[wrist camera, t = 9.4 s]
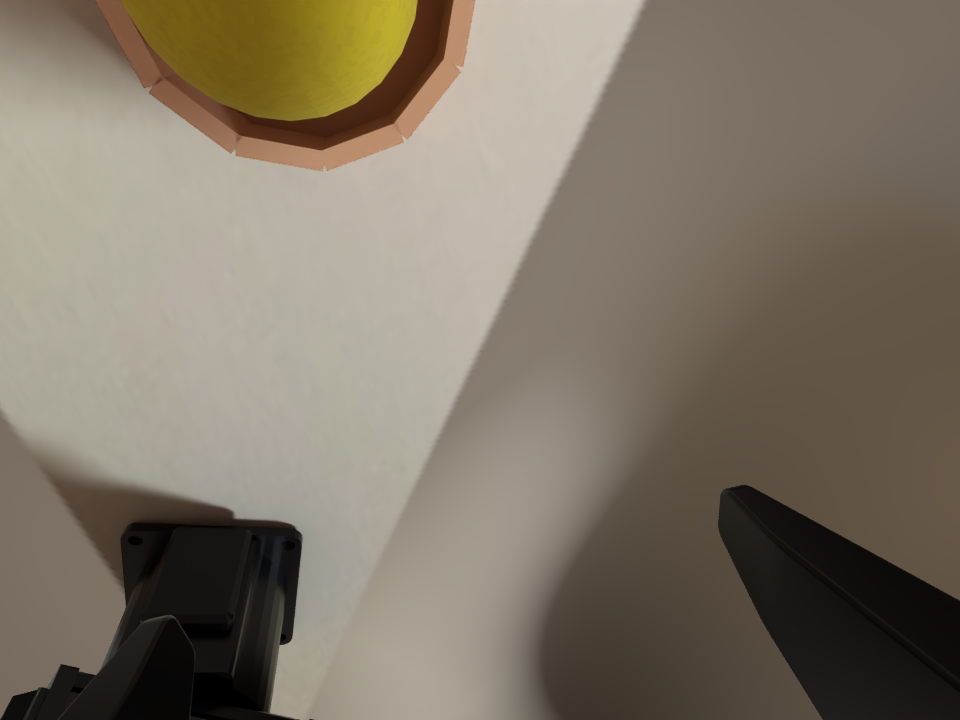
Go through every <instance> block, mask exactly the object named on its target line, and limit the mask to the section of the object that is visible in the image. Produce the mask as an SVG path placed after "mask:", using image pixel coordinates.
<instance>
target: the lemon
mask: <svg viewBox="0 0 960 720" xmlns="http://www.w3.org/2000/svg"><path fill="white" fill-rule="evenodd" d="M121 1H122V3H123V6H124V8H125V10H126V11H127V13H128V14H129V16H130V17H131V19H132V20H133V22H134V23H135V25H136V26H137V28H138V29H139V31H140V32H141V34H142V35H143V37H144V38H145V40H146V42H147V43H148V45H149V46H150V47H151V48H152V49H153V50H154V51H155V52H156V53H157V54H158V55H159V56H160V57H161V58H162V59H163V60H164V61H165V62H166V63H167V64H168V65H169V66H170V67H171V68H172V69H173V70H174V71H175V72H176V73H177V74H178V75H179V76H180V77H181V78H182V79H183V80H185V81H186V82H188V83H189V84H191V85H192V86H194V87H195V88H197V89H198V90H200V91H201V92H203V93H204V94H206V95H207V96H209V97H210V98H212V99H213V100H215V101H216V102H218V103H221V104H223V105H226V106H228V107H231V108H234V109H236V110H239V111H241V112H244V113H247V114H249V115H252V116H254V117H262V118H270V119H278V120H286V121H295V120H303V119H310V118H318V117H325V116H328V115H330V114H332V113H335V112H337V111H339V110H342V109H344V108H346V107H349V106H351V105H353V104H356V103H357V102H358V101H359V100H361V99H362V98H363V97H364V96H365V95H367V94H368V93H369V92H370V91H371V90H373V89H374V88H375V87H376V86H378V85H379V84H380V83H381V82H382V81H383V79H384V78H385V76H386V75H387V74H388V72H389V71H390V69H391V68H392V67H393V65H394V64H395V62H396V61H397V60H398V58H399V57H400V55H401V54H402V51H403V49H404V46H405V44H406V41H407V38H408V36H409V33H410V31H411V28H412V26H413V23H414V20H415V15H416V8H417V0H121Z"/></svg>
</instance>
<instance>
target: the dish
mask: <svg viewBox="0 0 960 720" xmlns="http://www.w3.org/2000/svg"><path fill="white" fill-rule="evenodd" d="M95 2H96V3H97V5H98V7H99V9H100V10H101V12H102V14H103V16H104V17H105V19H106V21H107V23H108V24H109V26H110V28H111V30H112V32H113V33H114V35H115V37H116V39H117V40H118V42H119V44H120V46H121V47H122V49H123V51H124V53H125V55H126V56H127V58H128V60H129V62H130V63H131V65H132V67H133V69H134V70H135V72H136V74H137V76H138V78H139V79H140V81H141V83H142V85H143V86H144V88H147V87H150V86H153V87H152V88H151V90H150V91H149V93H150V94H151V95H152V96H154V97H155V98H156V99H158V100H159V101H160V102H162V103H163V104H164V105H166V106H167V107H168V108H170V109H171V110H172V111H174V112H175V113H177V114H178V115H179V116H181V117H182V118H183V119H185V120H186V121H187V122H189V123H190V124H191V125H193V126H194V127H195V128H197V129H198V130H199V131H201V132H202V133H204V134H205V135H206V136H208V137H209V138H210V139H212V140H213V141H214V142H216V143H217V144H218V145H220V146H221V147H222V148H224V149H225V150H226V151H228V152H229V153H232V152H233V151H234V150H235V149H236V156H239V157H245V158H251V159H256V160H262V161H268V162H273V163H279V164H285V165H290V166H296V167H302V168H307V169H313V170H319V171H323V168H324V165H325V167H326V169H327V171H328V170H331V169H333V168H336V167H339V166H341V165H344V164H347V163H349V162H352V161H355V160H358V159H360V158H363V157H366V156H368V155H371V154H374V153H376V152H379V151H382V150H384V149H387V148H390V147H393V146H395V145H398V144H401V143H403V142H404V141H403V138H402V135H403V136H404V137H405V138H406V139H407V140H408V138H409V137H410V136H411V135H412V133H413V132H414V131H415V130H416V128H417V127H418V126H419V124H420V123H421V122H422V121H423V119H424V118H425V117H426V116H427V114H428V113H429V112H430V111H431V109H432V108H433V107H434V105H435V104H436V103H437V102H438V100H439V99H440V98H441V97H442V95H443V94H444V93H445V92H446V90H447V89H448V88H449V86H450V85H451V84H452V83H453V81H454V80H455V79H456V78H457V76H458V75H459V74H460V73H461V71H460V70H459V69H458V68H457V67H456V66H455V65H457V66H462V67H463V66H464V60H465V55H466V49H467V44H468V38H469V32H470V27H471V21H472V16H473V10H474V5H475V0H417V8H416V15H415V20H414V23H413V26H412V28H411V31H410V33H409V36H408V38H407V41H406V44H405V46H404V49H403V51H402V54H401V55H400V57H399V58H398V60H397V61H396V62H395V64H394V65H393V67H392V68H391V69H390V71H389V72H388V74H387V75H386V76H385V78H384V79H383V81H382V82H381V83H380V84H379V85H378V86H376V87H375V88H374V89H373V90H371V91H370V92H369V93H368V94H367V95H365V96H364V97H363V98H362V99H361V100H359V101H358V102H357V103H356V104H353V105H351V106H349V107H346V108H344V109H342V110H339V111H337V112H335V113H332V114H330V115H328V116H325V117H318V118H310V119H303V120H295V121H286V120H278V119H270V118H262V117H254V116H252V115H249V114H247V113H244V112H241V111H239V110H236V109H234V108H231V107H228V106H226V105H223V104H221V103H218V102H216V101H215V100H213V99H212V98H210V97H209V96H207V95H206V94H204V93H203V92H201V91H200V90H198V89H197V88H195V87H194V86H192V85H191V84H189V83H188V82H186V81H185V80H183V79H182V78H181V77H180V76H179V75H178V74H177V73H176V72H175V71H174V70H173V69H172V68H171V67H170V66H169V65H168V64H167V63H166V62H165V61H164V60H163V59H162V58H161V57H160V56H159V55H158V54H157V53H156V52H155V51H154V50H153V49H152V48H151V47H150V46H149V45H148V43H147V42H146V40H145V38H144V37H143V35H142V34H141V32H140V31H139V29H138V28H137V26H136V25H135V23H134V22H133V20H132V19H131V17H130V16H129V14H128V13H127V11H126V10H125V8H124V6H123V3H122V1H121V0H95ZM401 134H402V135H401Z"/></svg>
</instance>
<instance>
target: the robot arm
mask: <svg viewBox="0 0 960 720" xmlns="http://www.w3.org/2000/svg"><path fill="white" fill-rule="evenodd" d="M718 528H719V533H720V536H721V538H722V541H723V543H724V545H725V547H726V549H727V551H728V553H729V555H730V557H731V559H732V561H733V563H734V565H735V567H736V569H737V571H738V573H739V576H740V578H741V580H742V582H743V584H744V586H745V588H746V590H747V592H748V594H749V596H750V598H751V600H752V602H753V604H754V606H755V608H756V610H757V612H758V614H759V616H760V618H761V620H762V622H763V624H764V625H765V627H766V629H767V631H768V632H769V634H770V635H771V637H772V639H773V640H774V642H775V644H776V645H777V647H778V648H779V650H780V652H781V653H782V655H783V656H784V658H785V660H786V661H787V663H788V665H789V666H790V668H791V669H792V671H793V672H794V674H795V676H796V677H797V679H798V680H799V682H800V684H801V685H802V687H803V689H804V690H805V692H806V693H807V695H808V697H809V698H810V700H811V701H812V703H813V704H814V706H815V708H816V709H817V711H818V713H819V714H820V716H821V717H822V719H823V720H960V600H958V599H956V598H954V597H952V596H951V595H948V594H947V593H945V592H943V591H941V590H940V589H938V588H935V587H934V586H932V585H930V584H928V583H927V582H925V581H923V580H921V579H920V578H918V577H916V576H914V575H912V574H910V573H908V572H906V571H905V570H903V569H901V568H899V567H897V566H896V565H894V564H892V563H890V562H888V561H886V560H885V559H883V558H881V557H879V556H877V555H875V554H874V553H872V552H870V551H868V550H866V549H864V548H863V547H861V546H859V545H857V544H855V543H853V542H851V541H850V540H848V539H846V538H844V537H843V536H841V535H839V534H837V533H835V532H833V531H831V530H830V529H828V528H826V527H824V526H822V525H821V524H819V523H817V522H815V521H813V520H811V519H809V518H808V517H806V516H804V515H802V514H800V513H798V512H797V511H795V510H793V509H791V508H789V507H788V506H786V505H784V504H782V503H780V502H778V501H777V500H775V499H773V498H771V497H769V496H768V495H766V494H764V493H762V492H760V491H758V490H757V489H755V488H753V487H751V486H748V485H740V486H736V487H731V488H726V489H724V490H723V491H722V493H721V496H720V507H719V520H718ZM135 536H139V537H141V538H138V537H135ZM302 539H303V538H302V534H301V533H300V532H299V531H297V530H294V529H283V528H257V527H231V526H205V525H179V524H153V523H133V524H130V525H128V526H127V527H126V528H125V530H124V532H123V534H122V537H121V550H122V562H123V574H124V587H125V599H126V609H125V612H124V614H123V616H122V619H121V621H120V624H119V626H118V629H117V631H116V633H115V636H114V638H113V641H112V643H111V646H110V648H109V650H108V653H107V655H106V658H105V660H104V662H103V665H102V667H101V670H100V671H99V673H98V674H97V675H93V674H88V673H83V672H79V668H77V667H72V666H67V665H63V664H61V665H60V666H59V668H58V670H57V672H56V673H55V675H54V677H53V678H52V680H51V682H50V684H49V685H48V687H47V688H42V687H41V688H38V690H35V691H31V692H28V693H24V694H20V695H16V696H13V697H12V699H11V701H10V702H9V704H8V706H7V708H6V710H5V712H4V714H3V716H2V717H1V719H0V720H299V719H294V718H290V717H285V716H281V715H276V714H271V713H270V708H271V701H272V694H273V687H274V680H275V673H276V666H277V659H278V652H279V645H284V644H287V643H289V642H290V641H291V639H292V636H293V627H294V617H295V607H296V598H297V588H298V578H299V568H300V559H301V549H302ZM285 541H292V542H291V543H288V542H285ZM309 720H313V719H309Z"/></svg>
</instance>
